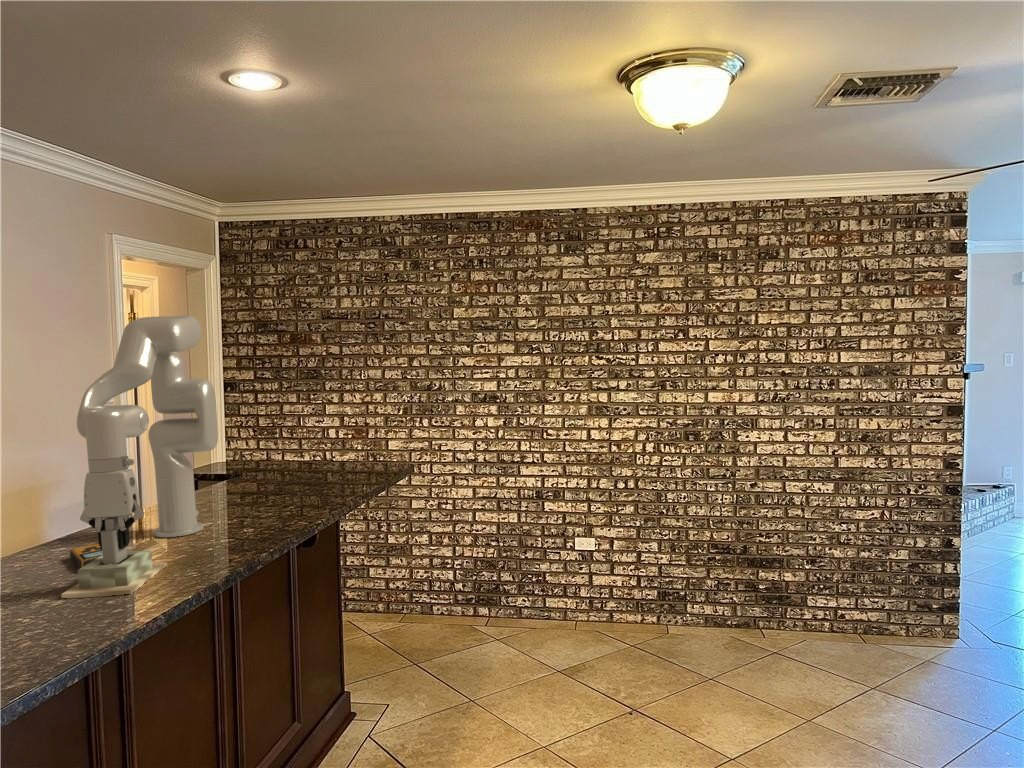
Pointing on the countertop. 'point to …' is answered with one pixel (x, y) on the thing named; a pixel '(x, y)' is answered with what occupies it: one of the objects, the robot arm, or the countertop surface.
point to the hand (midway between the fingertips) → (114, 547)
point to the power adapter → (112, 542)
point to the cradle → (114, 576)
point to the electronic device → (85, 554)
